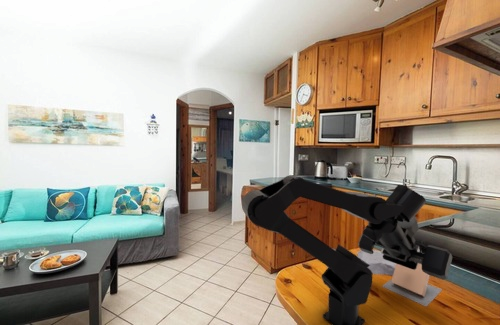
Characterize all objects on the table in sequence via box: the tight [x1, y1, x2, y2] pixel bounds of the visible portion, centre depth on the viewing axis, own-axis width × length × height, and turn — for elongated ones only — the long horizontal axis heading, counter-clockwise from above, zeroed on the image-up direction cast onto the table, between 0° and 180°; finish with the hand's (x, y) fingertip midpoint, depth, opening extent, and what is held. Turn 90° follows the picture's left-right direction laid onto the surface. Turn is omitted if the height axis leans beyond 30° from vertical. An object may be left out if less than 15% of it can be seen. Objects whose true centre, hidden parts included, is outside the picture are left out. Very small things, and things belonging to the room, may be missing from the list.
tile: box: [391, 263, 431, 297], centre depth 59 cm, size 2×7×8 cm
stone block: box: [356, 249, 396, 277], centre depth 72 cm, size 12×5×10 cm
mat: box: [381, 278, 443, 307], centre depth 60 cm, size 11×10×1 cm
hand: (409, 266), depth 58 cm, fingers closed
